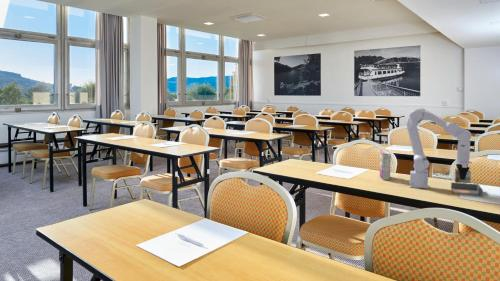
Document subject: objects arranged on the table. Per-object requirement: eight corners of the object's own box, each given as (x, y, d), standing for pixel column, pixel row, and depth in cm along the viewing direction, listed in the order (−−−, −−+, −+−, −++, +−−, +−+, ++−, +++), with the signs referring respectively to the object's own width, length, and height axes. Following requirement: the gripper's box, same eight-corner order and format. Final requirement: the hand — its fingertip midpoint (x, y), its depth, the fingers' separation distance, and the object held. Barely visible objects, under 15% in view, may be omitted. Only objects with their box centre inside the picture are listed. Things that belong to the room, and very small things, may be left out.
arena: (453, 194, 197) (453, 187, 196) (451, 188, 208) (451, 182, 207) (482, 196, 192) (482, 189, 191) (478, 190, 203) (478, 184, 202)
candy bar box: (379, 175, 239) (379, 150, 237) (387, 176, 238) (388, 150, 236) (381, 180, 229) (382, 153, 226) (390, 180, 228) (391, 153, 225)
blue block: (470, 183, 196) (470, 172, 195) (455, 182, 198) (455, 171, 198) (469, 181, 199) (469, 170, 199) (454, 180, 202) (454, 169, 201)
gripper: (474, 155, 189) (472, 182, 190) (469, 151, 202) (468, 176, 204) (458, 155, 191) (456, 181, 193) (455, 150, 205) (453, 175, 206)
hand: (461, 178), depth 199 cm, fingers closed on blue block, 4 cm apart
